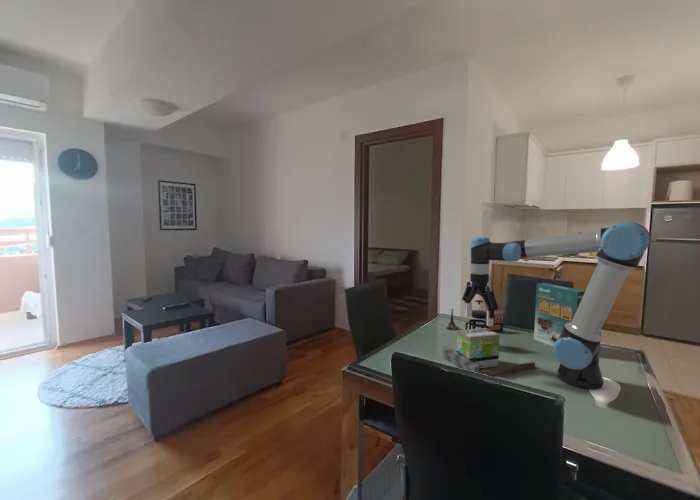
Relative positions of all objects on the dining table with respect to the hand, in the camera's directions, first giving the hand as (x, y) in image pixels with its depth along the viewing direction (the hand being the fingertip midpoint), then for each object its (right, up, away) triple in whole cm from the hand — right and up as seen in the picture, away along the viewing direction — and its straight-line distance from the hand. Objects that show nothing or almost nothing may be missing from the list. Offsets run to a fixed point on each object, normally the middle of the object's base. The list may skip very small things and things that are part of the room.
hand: (478, 321), depth 149 cm
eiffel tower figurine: (+3, -16, +50) cm, 52 cm away
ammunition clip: (+26, -16, +46) cm, 55 cm away
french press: (+8, -17, +25) cm, 32 cm away
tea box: (0, -20, +2) cm, 20 cm away
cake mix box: (+49, -18, +24) cm, 57 cm away
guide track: (+5, -19, +4) cm, 20 cm away
